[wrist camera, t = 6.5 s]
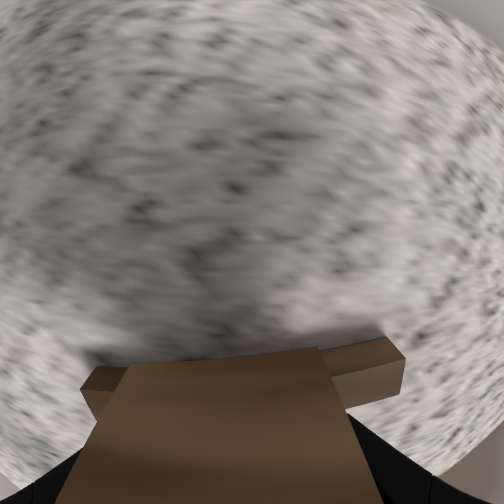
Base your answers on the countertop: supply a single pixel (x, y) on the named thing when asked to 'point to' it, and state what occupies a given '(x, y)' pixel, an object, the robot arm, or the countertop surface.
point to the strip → (337, 362)
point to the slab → (224, 437)
